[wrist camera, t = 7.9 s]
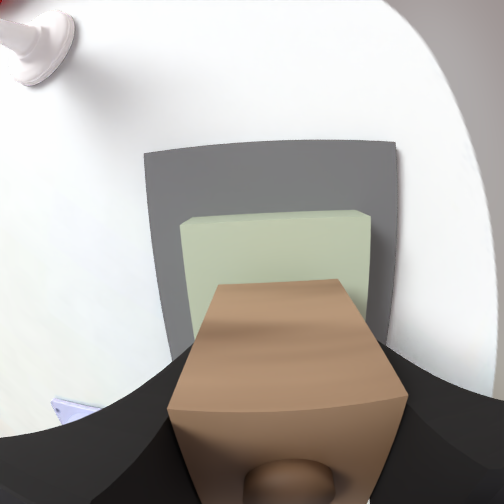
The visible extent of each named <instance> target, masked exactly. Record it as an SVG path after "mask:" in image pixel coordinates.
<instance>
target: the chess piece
mask: <svg viewBox="0 0 504 504" xmlns="http://www.w3.org/2000/svg"><path fill="white" fill-rule="evenodd" d="M74 32H75V25H74V21H73V19H72V17H71V16H70V15H69V14H67V13H64V12H62V11H58V10H52V11H48V12H45V13H43V14H41V15H39V16H38V17H36V18H35V19H34V20H32V21H31V22H30V23H29V24H28V25H24V24H20V23H16V22H11V21H7V20H3V19H0V43H1V44H2V45H4V46H6V47H7V48H9V49H11V50H12V52H11V56H10V63H9V67H10V73H11V76H12V77H13V79H14V80H15V81H17V82H19V83H21V84H23V85H26V86H31V85H35V84H38V83H40V82H42V81H43V80H45V79H46V78H47V77H49V76H50V75H51V74H52V73H53V72H54V71H55V70H56V69H57V68H58V66H59V65H60V64H61V62H62V61H63V59H64V58H65V56H66V55H67V53H68V51H69V49H70V46H71V44H72V41H73V38H74Z"/></svg>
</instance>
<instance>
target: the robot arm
mask: <svg viewBox="0 0 504 504" xmlns="http://www.w3.org/2000/svg"><path fill="white" fill-rule="evenodd" d="M376 340H377V339H376ZM377 342H378V343H379V345H380V347H381V348H382V350H383V352H384V353H385V355H386V357H387V359H388V360H389V362H390V364H391V365H392V367H393V369H394V371H395V372H396V374H397V376H398V377H399V379H400V381H401V383H402V384H403V386H404V388H405V390H406V392H407V393H408V399H407V402H406V405H405V409H404V412H403V415H402V418H401V421H400V424H399V427H398V430H397V433H396V436H395V438H394V441H393V444H392V447H391V449H390V452H389V454H388V457H387V459H386V462H385V464H384V467H383V469H382V471H381V474H380V476H379V478H378V481H377V483H376V485H375V487H374V489H373V492H372V494H371V496H370V498H369V499H370V504H504V401H502V400H498V399H494V398H490V397H487V396H484V395H480V394H477V393H474V392H471V391H468V390H466V389H463V388H460V387H458V386H456V385H453V384H451V383H449V382H447V381H444V380H442V379H440V378H438V377H436V376H434V375H432V374H430V373H429V372H427V371H425V370H423V369H421V368H420V367H418V366H416V365H414V364H413V363H411V362H410V361H408V360H406V359H405V358H403V357H402V356H400V355H399V354H397V353H396V352H394V351H393V350H391V349H390V348H388V347H387V346H385V345H384V344H382V343H381V342H379V341H378V340H377ZM193 344H194V343H193ZM193 344H192V345H191V346H190V347H188V348H187V349H186V350H185V351H184V352H183V353H182V354H181V355H180V356H178V357H177V358H176V359H175V360H174V361H173V362H171V363H170V364H169V365H168V366H167V367H166V368H164V369H163V370H162V371H161V372H159V373H158V374H157V375H155V376H154V377H153V378H151V379H150V380H149V381H147V382H146V383H145V384H143V385H142V386H141V387H139V388H138V389H136V390H135V391H133V392H132V393H130V394H129V395H127V396H125V397H124V398H122V399H120V400H118V401H117V402H115V403H113V404H111V405H109V406H107V407H105V408H103V409H100V408H95V407H90V406H86V405H81V404H77V403H72V402H68V401H64V400H60V399H56V398H53V399H52V400H51V405H52V407H53V409H54V411H55V413H56V415H57V416H58V418H59V420H60V422H61V424H62V425H61V426H58V427H54V428H51V429H47V430H44V431H39V432H35V433H30V434H24V435H18V436H11V437H3V438H0V504H202V503H201V500H200V498H199V496H198V493H197V491H196V489H195V486H194V484H193V481H192V479H191V476H190V474H189V471H188V468H187V466H186V463H185V461H184V458H183V455H182V452H181V450H180V447H179V444H178V441H177V438H176V435H175V432H174V429H173V426H172V423H171V420H170V417H169V414H168V411H167V407H168V405H169V402H170V400H171V397H172V395H173V393H174V390H175V388H176V385H177V383H178V380H179V378H180V375H181V373H182V370H183V368H184V365H185V363H186V361H187V358H188V356H189V353H190V351H191V348H192V346H193Z"/></svg>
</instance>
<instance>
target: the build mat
mask: <svg viewBox="0 0 504 504" xmlns="http://www.w3.org/2000/svg"><path fill="white" fill-rule="evenodd" d="M144 166H145V180H146V192H147V203H148V213H149V222H150V231H151V239H152V247H153V255H154V262H155V269H156V276H157V282H158V288H159V294H160V300H161V306H162V312H163V317H164V323H165V328H166V333H167V338H168V343H169V348H170V352H171V357H172V362H173V361H174V360H175V359H176V358H177V357H178V356H180V355H181V354H182V353H183V352H184V351H185V350H186V349H187V348H188V347H190V346H191V345H192V344H193V343H194V341H195V339H194V333H193V326H192V320H191V313H190V306H189V299H188V292H187V284H186V276H185V268H184V260H183V252H182V243H181V233H180V225H181V224H182V223H184V222H185V221H187V220H189V219H190V218H192V217H205V216H220V215H237V214H256V213H276V212H300V211H331V210H357V211H360V212H362V213H364V214H367V215H369V216H371V240H370V266H369V283H368V297H367V309H366V320H365V322H366V324H367V325H368V327H369V329H370V330H371V332H372V333H373V335H374V337H375V338H376V339H377V340H378V341H379V342H381V343H382V344H384V345H385V346H386V340H387V333H388V326H389V319H390V311H391V303H392V293H393V283H394V271H395V257H396V238H397V161H396V143H395V142H386V141H365V140H282V141H260V142H243V143H230V144H218V145H207V146H198V147H189V148H180V149H172V150H165V151H158V152H151V153H144Z"/></svg>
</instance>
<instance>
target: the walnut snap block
mask: <svg viewBox="0 0 504 504" xmlns="http://www.w3.org/2000/svg"><path fill="white" fill-rule="evenodd" d="M407 399H408V393H407V392H406V390H405V388H404V386H403V384H402V383H401V381H400V379H399V377H398V376H397V374H396V372H395V371H394V369H393V367H392V365H391V364H390V362H389V360H388V359H387V357H386V355H385V353H384V352H383V350H382V348H381V347H380V345H379V343H378V342H377V340H376V338H375V337H374V335H373V333H372V332H371V330H370V329H369V327H368V325H367V324H366V322H365V320H364V319H363V317H362V316H361V314H360V312H359V311H358V309H357V308H356V306H355V304H354V303H353V301H352V300H351V298H350V297H349V295H348V293H347V292H346V290H345V289H344V287H343V286H342V284H341V283H340V281H339V280H338V279H325V280H308V281H289V282H269V283H246V284H219V285H218V286H217V289H216V291H215V293H214V296H213V298H212V300H211V303H210V305H209V308H208V310H207V312H206V315H205V317H204V320H203V322H202V324H201V327H200V329H199V331H198V334H197V336H196V339H195V341H194V344H193V346H192V348H191V351H190V353H189V356H188V358H187V361H186V363H185V365H184V368H183V370H182V373H181V375H180V378H179V380H178V383H177V385H176V388H175V390H174V393H173V395H172V397H171V400H170V402H169V405H168V407H167V411H168V414H169V417H170V420H171V423H172V426H173V429H174V432H175V435H176V438H177V441H178V444H179V447H180V450H181V452H182V455H183V458H184V461H185V463H186V466H187V468H188V471H189V474H190V476H191V479H192V481H193V484H194V486H195V489H196V491H197V493H198V496H199V498H200V500H201V503H202V504H367V502H368V500H369V498H370V496H371V494H372V492H373V489H374V487H375V485H376V483H377V481H378V478H379V476H380V474H381V471H382V469H383V467H384V464H385V462H386V459H387V457H388V454H389V452H390V449H391V447H392V444H393V441H394V438H395V436H396V433H397V430H398V427H399V424H400V421H401V418H402V415H403V412H404V409H405V405H406V402H407Z"/></svg>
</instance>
